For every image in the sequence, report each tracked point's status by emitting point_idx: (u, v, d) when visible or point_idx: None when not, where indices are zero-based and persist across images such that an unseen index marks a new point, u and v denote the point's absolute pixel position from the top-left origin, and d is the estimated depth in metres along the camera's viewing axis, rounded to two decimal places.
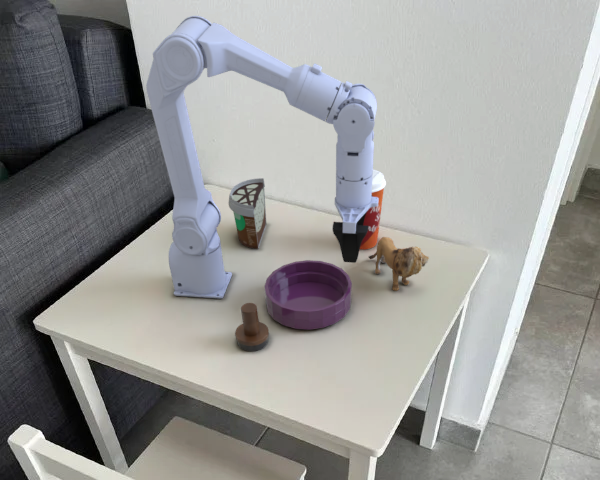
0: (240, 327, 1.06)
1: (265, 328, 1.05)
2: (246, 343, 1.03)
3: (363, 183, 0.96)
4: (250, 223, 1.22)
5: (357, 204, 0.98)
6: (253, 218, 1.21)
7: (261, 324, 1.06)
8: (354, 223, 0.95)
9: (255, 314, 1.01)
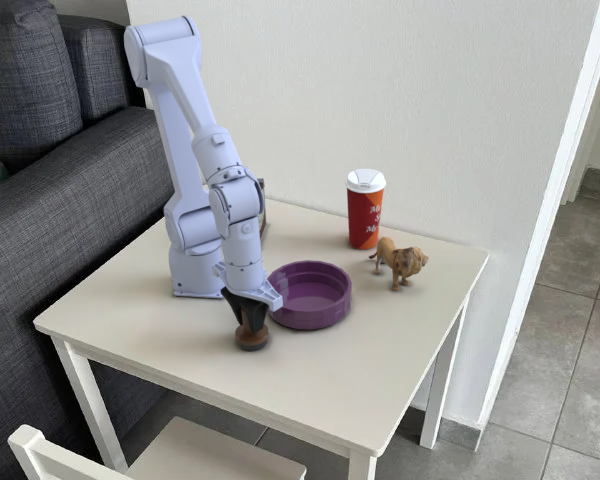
0: (240, 327, 1.06)
1: (264, 328, 1.05)
2: (246, 343, 1.03)
3: (261, 260, 0.94)
4: None
5: (261, 281, 0.96)
6: None
7: None
8: (281, 297, 0.94)
9: None
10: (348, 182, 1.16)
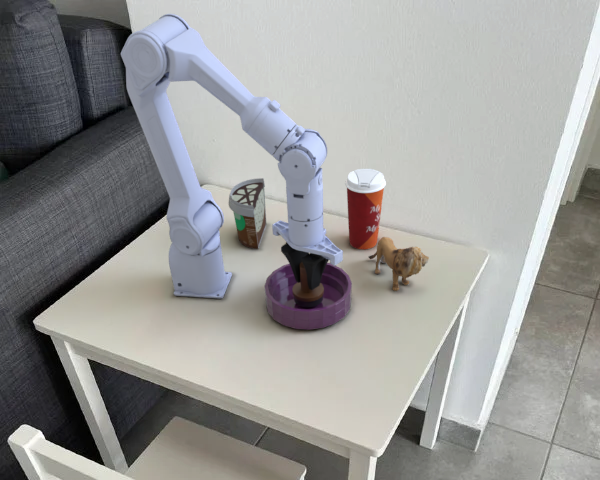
0: (297, 285, 1.11)
1: (320, 285, 1.11)
2: (303, 299, 1.09)
3: (322, 216, 1.00)
4: (250, 223, 1.22)
5: (321, 237, 1.01)
6: (253, 218, 1.21)
7: None
8: (342, 251, 1.00)
9: None
10: (348, 182, 1.16)
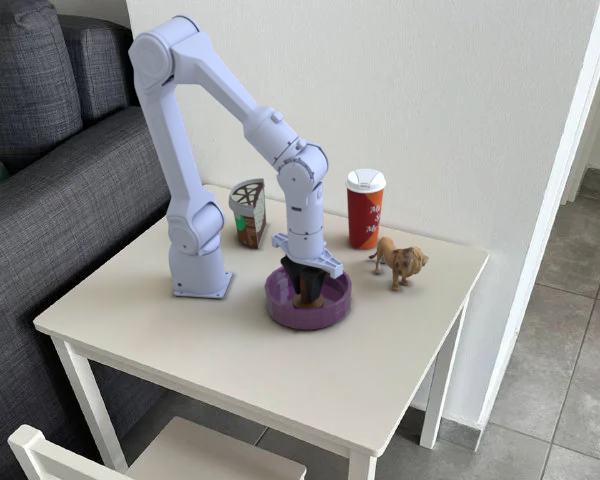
0: (297, 296, 1.10)
1: (320, 296, 1.10)
2: None
3: (322, 229, 0.99)
4: (250, 223, 1.22)
5: (321, 250, 1.01)
6: (253, 218, 1.21)
7: None
8: (342, 264, 0.99)
9: None
10: (348, 182, 1.16)
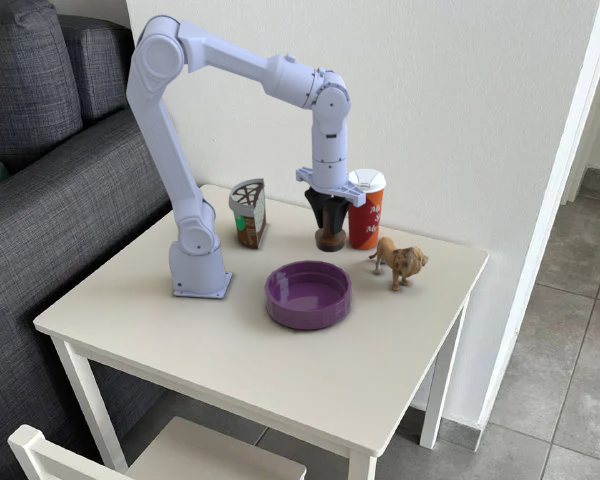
0: (319, 231, 1.13)
1: (342, 231, 1.13)
2: (326, 243, 1.11)
3: (346, 159, 1.02)
4: (250, 223, 1.22)
5: (344, 180, 1.04)
6: (253, 218, 1.21)
7: None
8: (365, 193, 1.02)
9: None
10: None
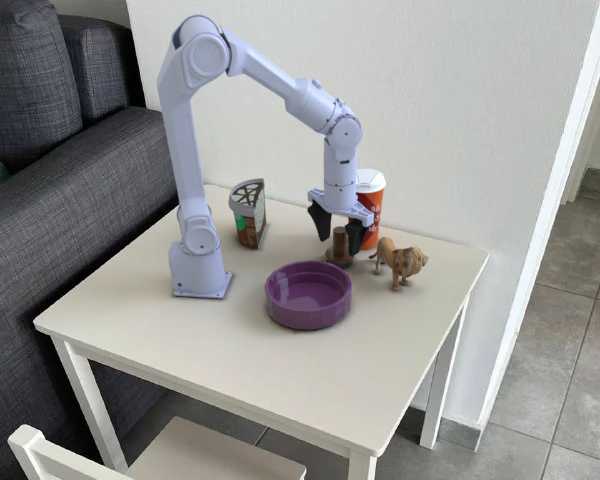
0: (329, 250, 1.21)
1: None
2: (336, 262, 1.19)
3: None
4: (250, 223, 1.22)
5: (354, 202, 1.11)
6: (253, 218, 1.21)
7: (347, 247, 1.22)
8: (373, 214, 1.09)
9: (345, 235, 1.17)
10: None
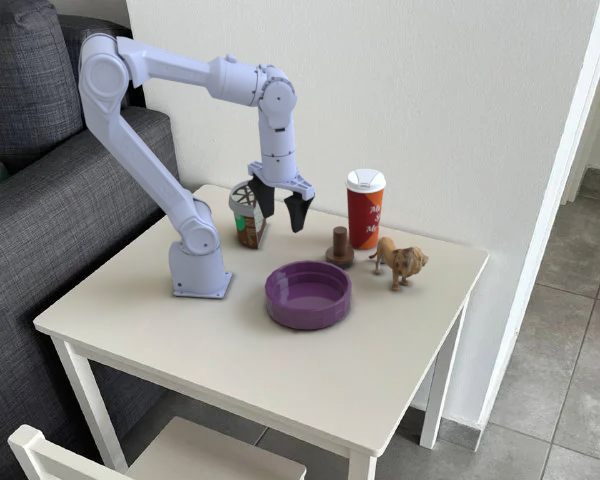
0: (329, 250, 1.21)
1: (351, 250, 1.21)
2: (336, 262, 1.19)
3: (294, 153, 1.03)
4: (250, 223, 1.22)
5: (294, 174, 1.05)
6: (253, 218, 1.21)
7: (347, 247, 1.22)
8: (313, 187, 1.03)
9: (345, 235, 1.17)
10: (348, 182, 1.16)
